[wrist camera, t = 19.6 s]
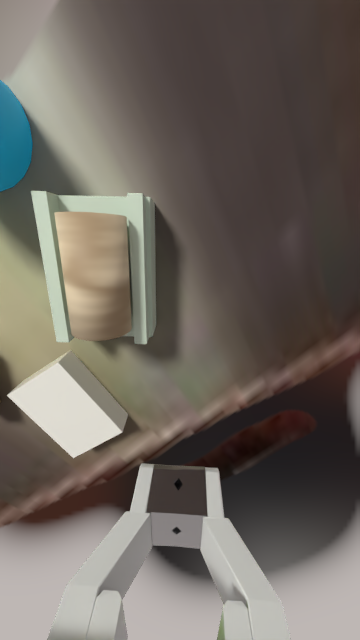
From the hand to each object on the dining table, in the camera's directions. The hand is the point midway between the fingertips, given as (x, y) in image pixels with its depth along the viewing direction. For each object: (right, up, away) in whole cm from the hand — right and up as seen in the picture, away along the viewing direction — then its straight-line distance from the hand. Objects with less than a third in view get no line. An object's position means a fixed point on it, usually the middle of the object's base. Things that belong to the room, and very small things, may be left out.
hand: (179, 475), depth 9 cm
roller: (-6, +10, +9) cm, 15 cm away
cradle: (-6, +11, +12) cm, 18 cm away
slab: (-12, -3, +18) cm, 21 cm away
